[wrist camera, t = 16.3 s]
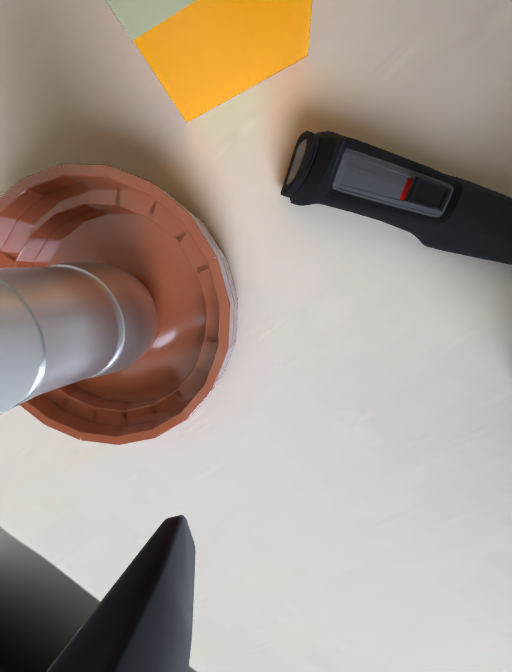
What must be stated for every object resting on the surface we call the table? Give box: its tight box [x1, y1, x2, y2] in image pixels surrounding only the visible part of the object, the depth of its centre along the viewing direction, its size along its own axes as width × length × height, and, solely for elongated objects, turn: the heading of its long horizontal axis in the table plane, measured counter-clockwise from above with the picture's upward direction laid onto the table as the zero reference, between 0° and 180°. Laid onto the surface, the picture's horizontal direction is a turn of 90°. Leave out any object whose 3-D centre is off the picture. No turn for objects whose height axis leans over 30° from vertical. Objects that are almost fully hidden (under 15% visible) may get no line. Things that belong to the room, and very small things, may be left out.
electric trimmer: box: [281, 131, 512, 265], centre depth 15 cm, size 4×16×3 cm, turn 71°
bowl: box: [0, 164, 238, 445], centre depth 18 cm, size 16×16×3 cm
